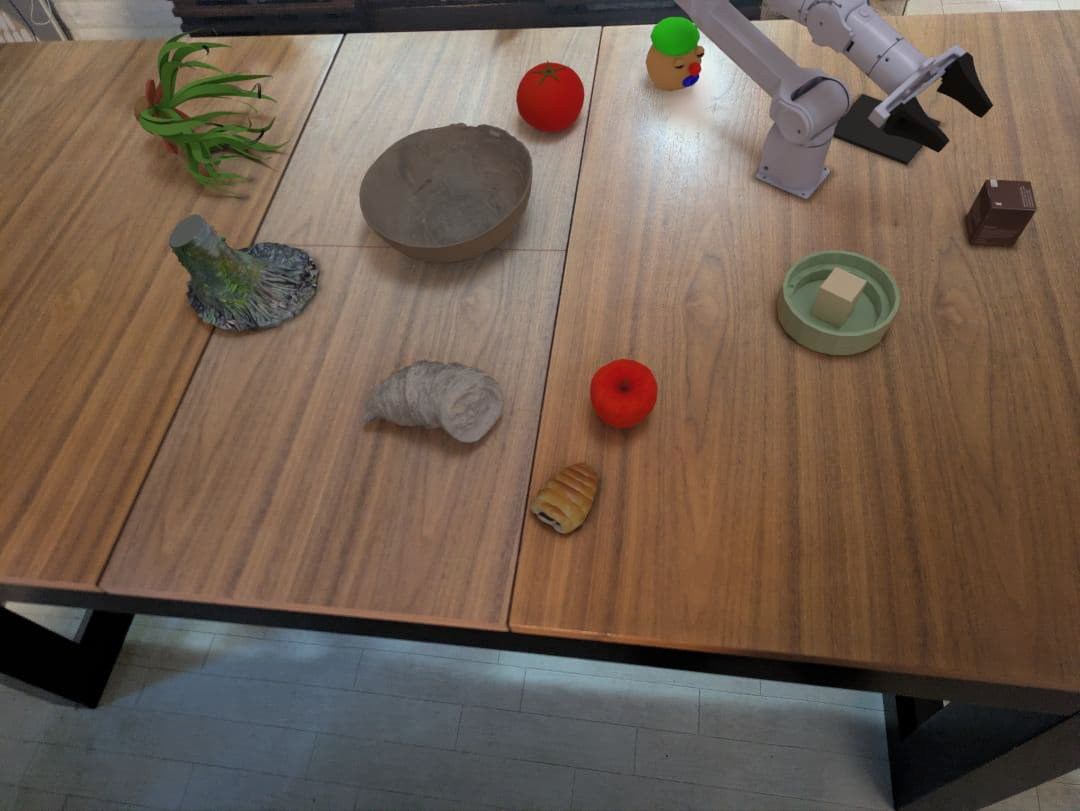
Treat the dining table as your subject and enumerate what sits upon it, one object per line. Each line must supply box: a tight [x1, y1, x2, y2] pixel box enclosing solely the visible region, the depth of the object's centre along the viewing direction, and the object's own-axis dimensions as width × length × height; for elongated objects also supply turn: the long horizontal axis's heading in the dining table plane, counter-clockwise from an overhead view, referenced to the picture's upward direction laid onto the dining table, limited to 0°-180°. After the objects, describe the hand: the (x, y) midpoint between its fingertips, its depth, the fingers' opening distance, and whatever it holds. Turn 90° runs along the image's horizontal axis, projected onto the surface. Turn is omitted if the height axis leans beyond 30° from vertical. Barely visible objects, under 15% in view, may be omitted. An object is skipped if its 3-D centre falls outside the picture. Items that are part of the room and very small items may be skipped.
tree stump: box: [168, 213, 320, 332], centre depth 109 cm, size 18×20×18 cm
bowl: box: [358, 122, 534, 264], centre depth 114 cm, size 28×28×10 cm
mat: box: [832, 93, 941, 166], centre depth 119 cm, size 14×12×1 cm
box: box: [965, 179, 1038, 247], centre depth 103 cm, size 6×6×7 cm
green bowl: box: [776, 249, 901, 356], centre depth 99 cm, size 15×15×5 cm
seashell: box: [361, 359, 505, 444], centre depth 94 cm, size 16×15×10 cm
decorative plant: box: [133, 28, 290, 197], centre depth 125 cm, size 26×25×30 cm
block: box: [810, 267, 867, 329], centre depth 98 cm, size 4×4×6 cm
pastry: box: [530, 461, 599, 534], centre depth 89 cm, size 9×7×4 cm
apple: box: [589, 358, 659, 429], centre depth 93 cm, size 9×9×8 cm
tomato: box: [515, 59, 585, 133], centre depth 125 cm, size 11×12×10 cm
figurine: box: [645, 16, 706, 92], centre depth 126 cm, size 11×10×12 cm
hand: (965, 129), depth 88 cm, fingers open, 7 cm apart
